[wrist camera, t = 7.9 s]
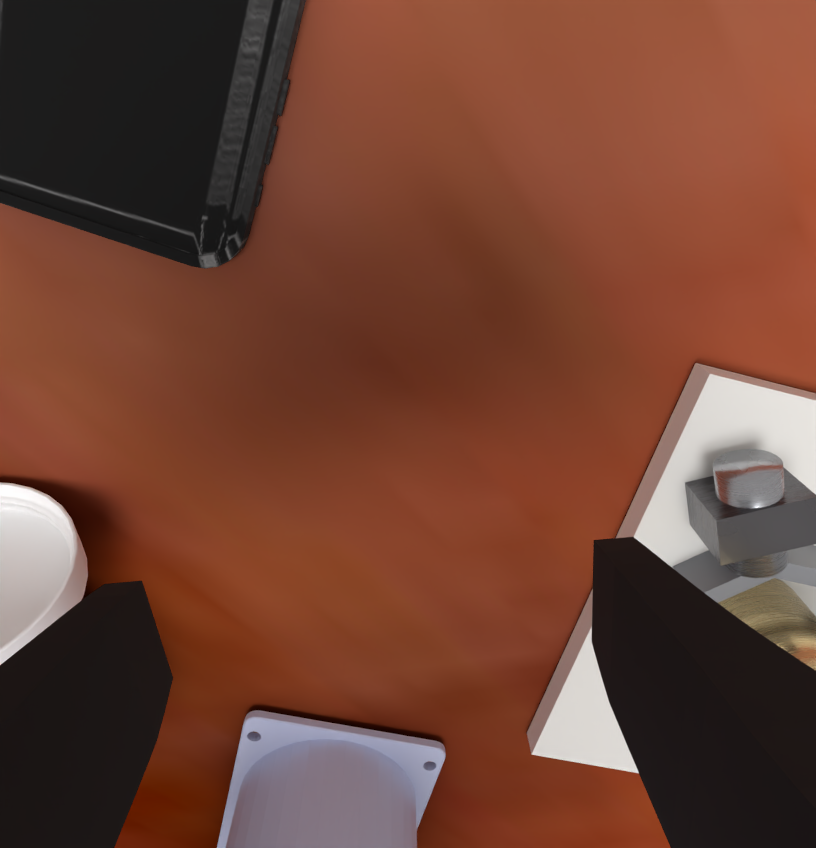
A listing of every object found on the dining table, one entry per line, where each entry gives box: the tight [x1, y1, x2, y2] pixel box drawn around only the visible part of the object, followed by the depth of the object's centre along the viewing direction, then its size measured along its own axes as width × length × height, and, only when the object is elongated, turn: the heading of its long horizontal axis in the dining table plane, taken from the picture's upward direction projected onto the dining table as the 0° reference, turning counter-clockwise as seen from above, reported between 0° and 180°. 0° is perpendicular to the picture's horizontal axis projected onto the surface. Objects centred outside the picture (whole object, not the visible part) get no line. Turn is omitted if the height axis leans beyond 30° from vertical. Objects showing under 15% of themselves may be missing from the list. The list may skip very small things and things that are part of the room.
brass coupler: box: [718, 578, 816, 670], centre depth 20 cm, size 4×4×7 cm
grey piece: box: [685, 449, 816, 578], centre depth 20 cm, size 3×3×2 cm
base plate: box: [527, 363, 816, 773], centre depth 22 cm, size 16×10×3 cm, turn 166°
